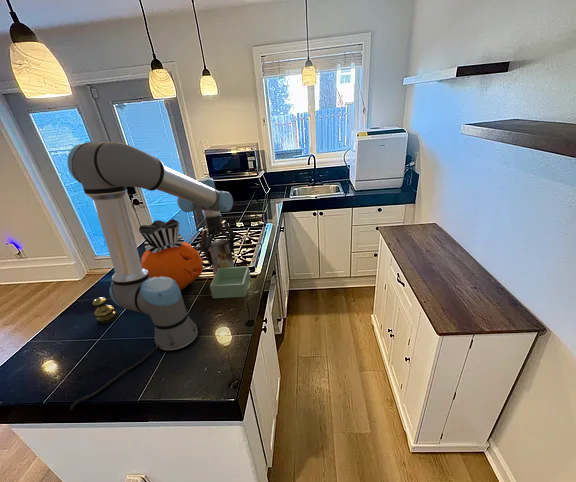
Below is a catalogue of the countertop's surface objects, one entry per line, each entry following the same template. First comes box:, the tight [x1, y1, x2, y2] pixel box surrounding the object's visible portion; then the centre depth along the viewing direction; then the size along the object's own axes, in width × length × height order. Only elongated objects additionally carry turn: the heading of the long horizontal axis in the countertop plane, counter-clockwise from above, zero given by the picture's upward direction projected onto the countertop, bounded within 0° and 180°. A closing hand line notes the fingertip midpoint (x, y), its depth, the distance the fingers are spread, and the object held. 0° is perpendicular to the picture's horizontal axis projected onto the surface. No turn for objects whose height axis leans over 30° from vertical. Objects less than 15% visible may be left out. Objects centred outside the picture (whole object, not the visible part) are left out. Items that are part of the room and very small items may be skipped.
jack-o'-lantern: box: [138, 218, 204, 291], centre depth 142 cm, size 27×26×30 cm
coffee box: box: [209, 238, 236, 275], centre depth 152 cm, size 9×6×16 cm
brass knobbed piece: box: [92, 297, 118, 325], centre depth 127 cm, size 7×7×10 cm
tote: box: [209, 265, 252, 299], centre depth 142 cm, size 17×15×6 cm
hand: (221, 257), depth 153 cm, fingers open, 13 cm apart
